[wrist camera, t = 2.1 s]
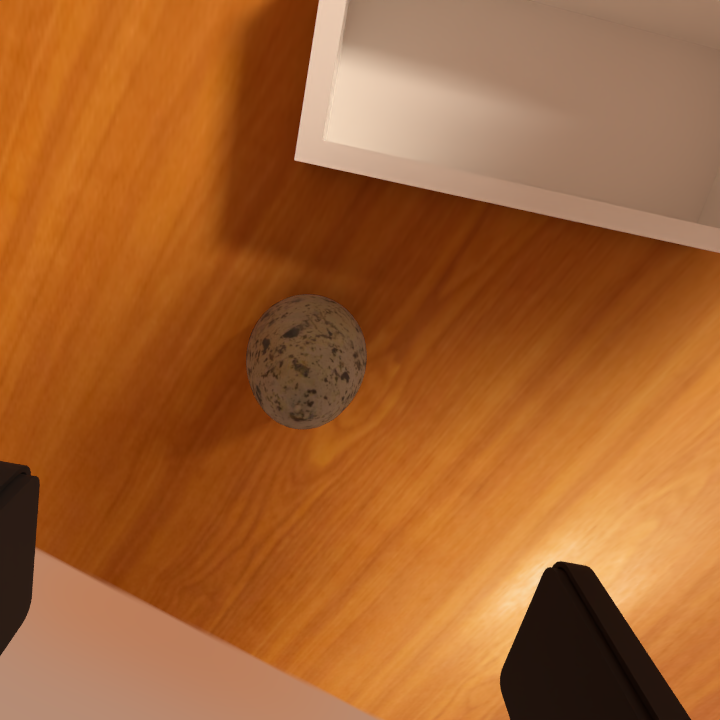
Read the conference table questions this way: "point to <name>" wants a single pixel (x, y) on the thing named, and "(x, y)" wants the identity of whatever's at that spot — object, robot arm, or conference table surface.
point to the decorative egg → (305, 360)
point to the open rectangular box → (528, 106)
